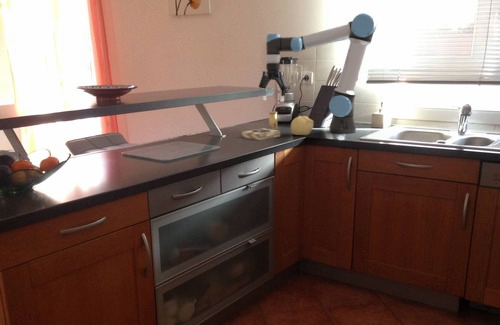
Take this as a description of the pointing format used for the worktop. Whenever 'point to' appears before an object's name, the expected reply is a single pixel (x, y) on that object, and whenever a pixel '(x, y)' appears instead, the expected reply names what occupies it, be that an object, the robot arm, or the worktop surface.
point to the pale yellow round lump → (301, 125)
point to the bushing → (273, 120)
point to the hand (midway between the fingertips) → (272, 101)
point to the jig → (260, 134)
